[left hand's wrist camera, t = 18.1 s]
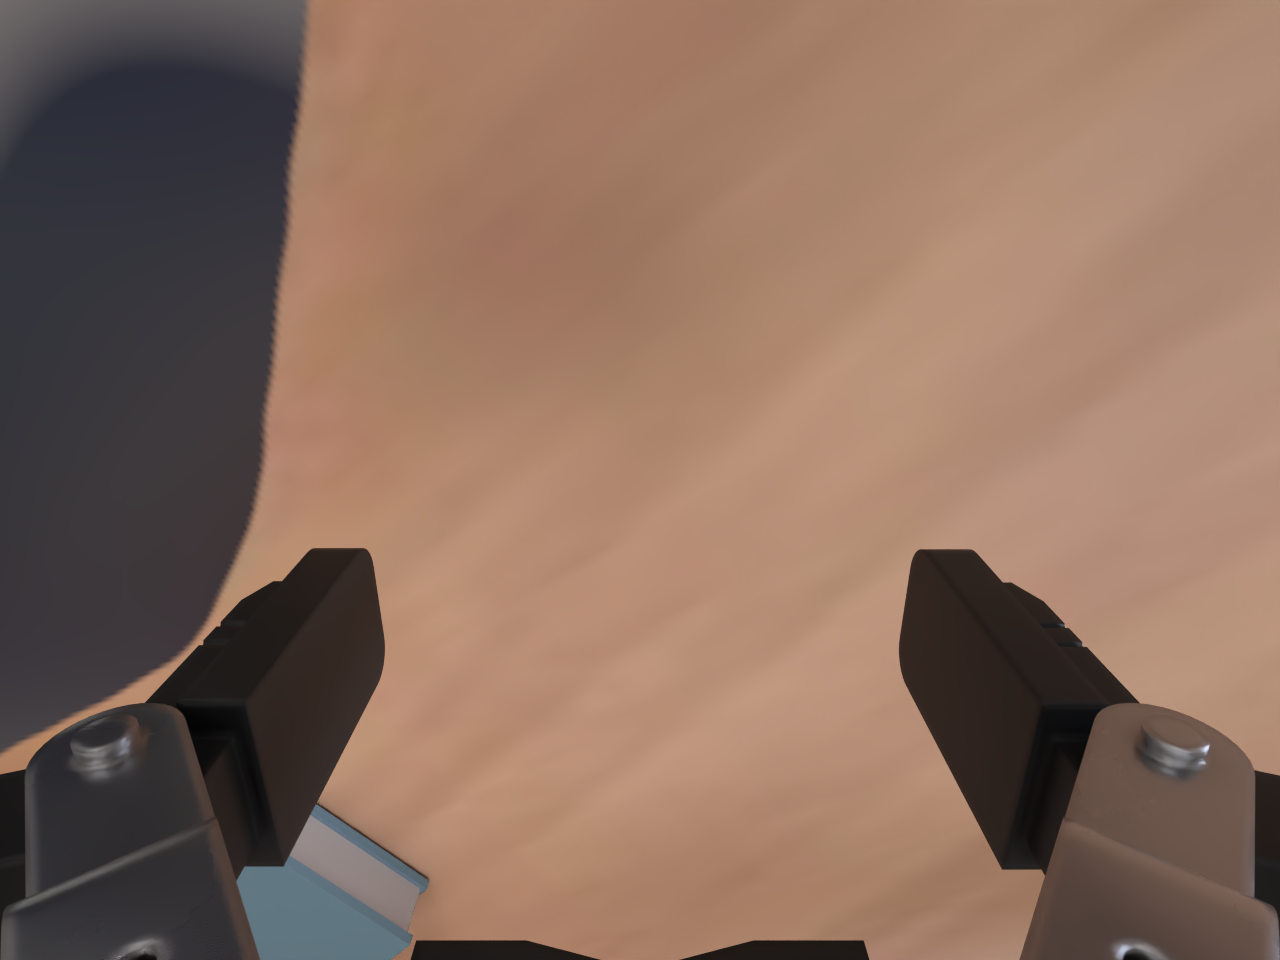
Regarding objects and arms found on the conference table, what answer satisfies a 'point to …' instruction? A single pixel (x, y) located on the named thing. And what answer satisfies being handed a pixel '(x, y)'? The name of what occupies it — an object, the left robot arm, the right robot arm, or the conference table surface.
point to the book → (331, 898)
